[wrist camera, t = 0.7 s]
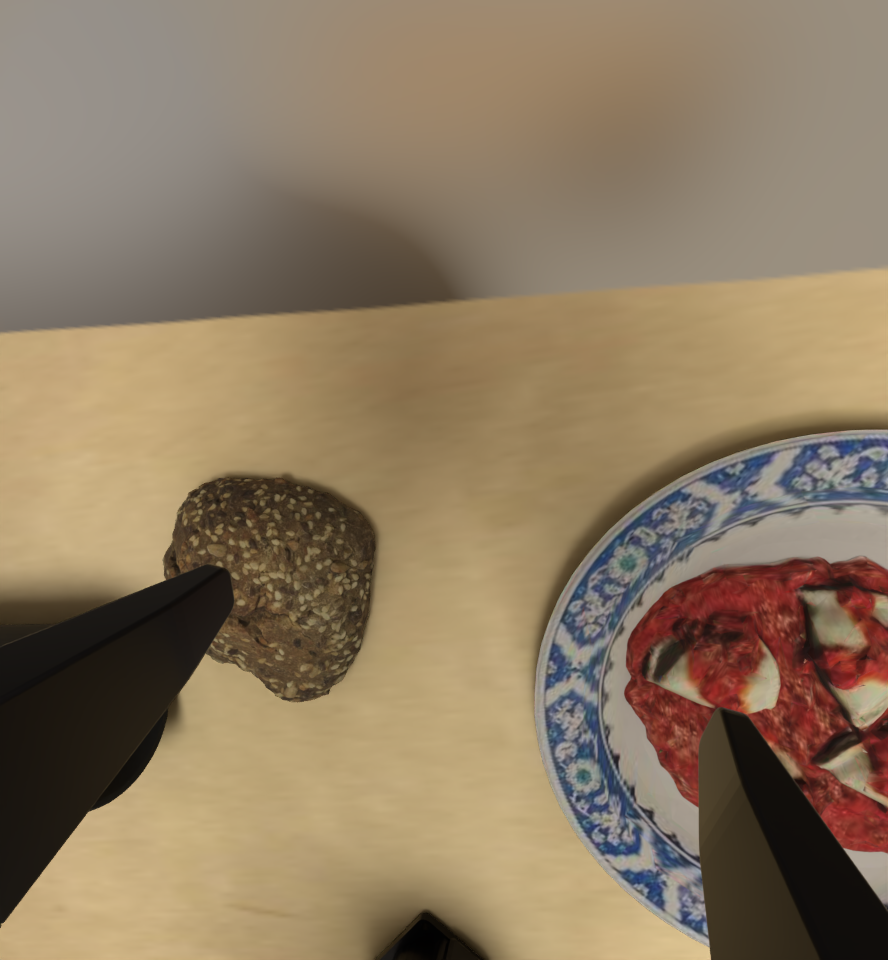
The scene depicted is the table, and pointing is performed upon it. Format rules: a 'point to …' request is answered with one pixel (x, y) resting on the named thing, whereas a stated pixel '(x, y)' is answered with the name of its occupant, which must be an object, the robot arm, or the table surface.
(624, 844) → the ceramic plate
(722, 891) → the robot arm
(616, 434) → the table surface
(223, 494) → the bread roll
